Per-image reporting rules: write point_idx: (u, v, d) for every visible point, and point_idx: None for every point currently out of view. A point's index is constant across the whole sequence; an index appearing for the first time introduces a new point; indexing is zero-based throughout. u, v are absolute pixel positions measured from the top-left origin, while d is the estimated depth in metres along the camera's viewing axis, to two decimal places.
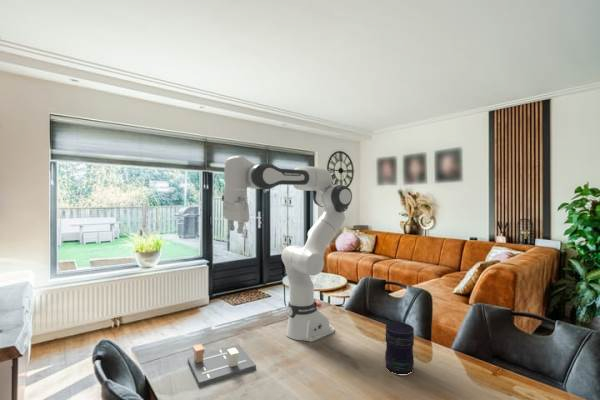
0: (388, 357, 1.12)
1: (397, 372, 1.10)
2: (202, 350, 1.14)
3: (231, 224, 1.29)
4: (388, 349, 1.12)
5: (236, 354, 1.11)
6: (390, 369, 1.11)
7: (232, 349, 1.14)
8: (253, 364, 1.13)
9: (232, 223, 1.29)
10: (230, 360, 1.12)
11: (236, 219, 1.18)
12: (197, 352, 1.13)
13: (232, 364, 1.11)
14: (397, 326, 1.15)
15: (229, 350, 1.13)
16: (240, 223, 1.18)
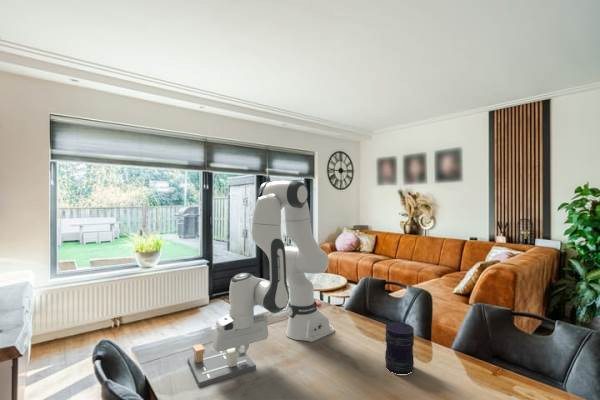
0: (388, 357, 1.12)
1: (397, 372, 1.10)
2: (202, 350, 1.14)
3: (238, 350, 1.14)
4: (388, 349, 1.12)
5: (235, 354, 1.11)
6: (390, 369, 1.11)
7: (231, 349, 1.14)
8: (253, 364, 1.13)
9: None
10: (229, 360, 1.12)
11: (258, 339, 1.16)
12: (197, 352, 1.13)
13: (231, 364, 1.11)
14: (397, 326, 1.15)
15: (228, 350, 1.13)
16: None
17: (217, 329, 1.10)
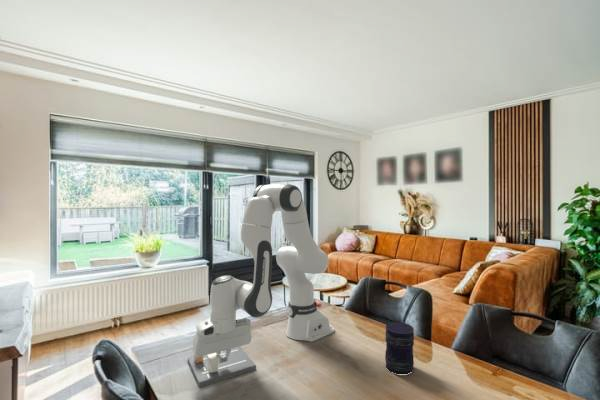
0: (388, 357, 1.12)
1: (397, 372, 1.10)
2: None
3: None
4: (388, 349, 1.12)
5: (216, 359, 1.08)
6: (390, 369, 1.11)
7: (212, 354, 1.10)
8: (253, 364, 1.13)
9: None
10: (210, 366, 1.08)
11: (241, 343, 1.12)
12: None
13: (212, 370, 1.07)
14: (397, 326, 1.15)
15: (209, 355, 1.10)
16: None
17: (197, 334, 1.07)
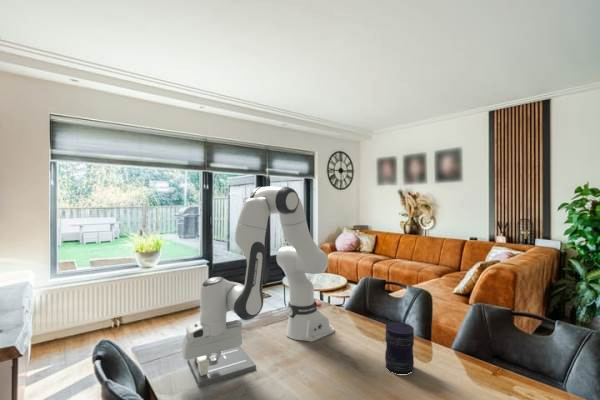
0: (388, 357, 1.12)
1: (397, 372, 1.10)
2: None
3: None
4: (388, 349, 1.12)
5: (206, 362, 1.06)
6: (390, 369, 1.11)
7: (202, 357, 1.09)
8: (253, 364, 1.13)
9: None
10: (200, 369, 1.06)
11: (231, 346, 1.11)
12: None
13: (201, 373, 1.06)
14: (397, 326, 1.15)
15: (199, 358, 1.08)
16: None
17: (187, 336, 1.05)
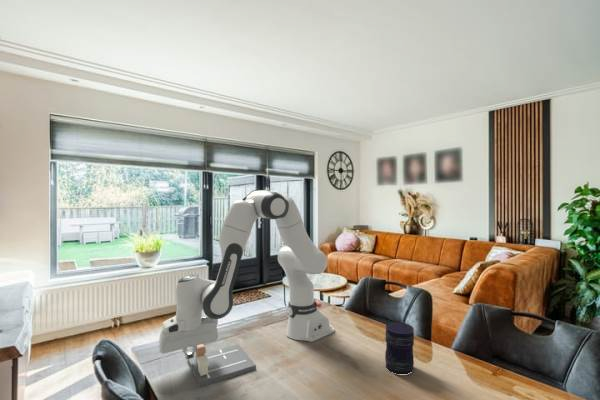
0: (388, 357, 1.12)
1: (397, 372, 1.10)
2: (203, 350, 1.14)
3: (186, 352, 1.13)
4: (388, 349, 1.12)
5: (206, 362, 1.06)
6: (390, 369, 1.11)
7: (202, 357, 1.09)
8: (253, 364, 1.13)
9: None
10: (200, 369, 1.06)
11: (207, 340, 1.15)
12: (199, 352, 1.13)
13: (201, 373, 1.06)
14: (397, 326, 1.15)
15: (199, 358, 1.08)
16: None
17: (163, 331, 1.10)
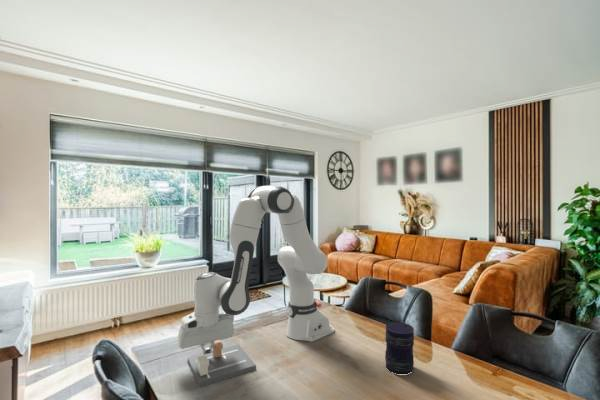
0: (388, 357, 1.12)
1: (397, 372, 1.10)
2: (221, 345, 1.18)
3: None
4: (388, 349, 1.12)
5: (206, 362, 1.06)
6: (390, 369, 1.11)
7: (202, 357, 1.09)
8: (253, 364, 1.13)
9: None
10: (200, 369, 1.06)
11: (224, 336, 1.19)
12: (216, 347, 1.17)
13: (201, 373, 1.06)
14: (397, 326, 1.15)
15: (199, 358, 1.08)
16: None
17: (182, 327, 1.13)
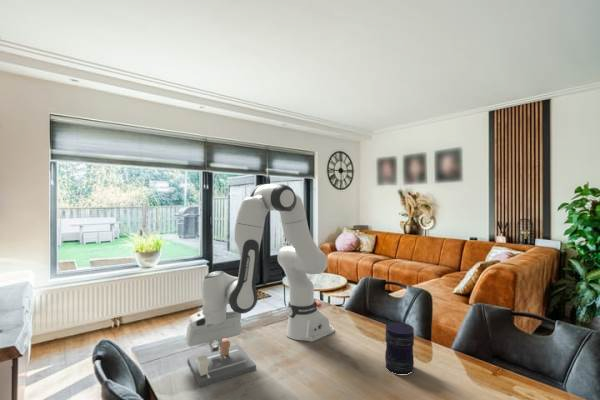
0: (388, 357, 1.12)
1: (397, 372, 1.10)
2: (228, 343, 1.19)
3: (211, 345, 1.18)
4: (388, 349, 1.12)
5: (206, 362, 1.06)
6: (390, 369, 1.11)
7: (202, 357, 1.09)
8: (253, 364, 1.13)
9: None
10: (200, 369, 1.06)
11: (231, 334, 1.20)
12: (223, 345, 1.18)
13: (201, 373, 1.06)
14: (397, 326, 1.15)
15: (199, 358, 1.08)
16: None
17: (190, 325, 1.15)
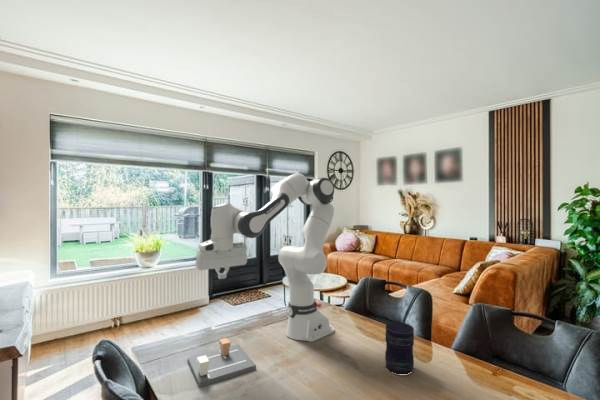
0: (388, 357, 1.12)
1: (397, 372, 1.10)
2: (228, 343, 1.19)
3: (219, 272, 1.25)
4: (388, 349, 1.12)
5: (206, 362, 1.06)
6: (390, 369, 1.11)
7: (202, 357, 1.09)
8: (253, 364, 1.13)
9: None
10: (200, 369, 1.06)
11: (237, 263, 1.27)
12: (224, 345, 1.18)
13: (201, 373, 1.06)
14: (397, 326, 1.15)
15: (199, 358, 1.08)
16: None
17: (199, 251, 1.22)
